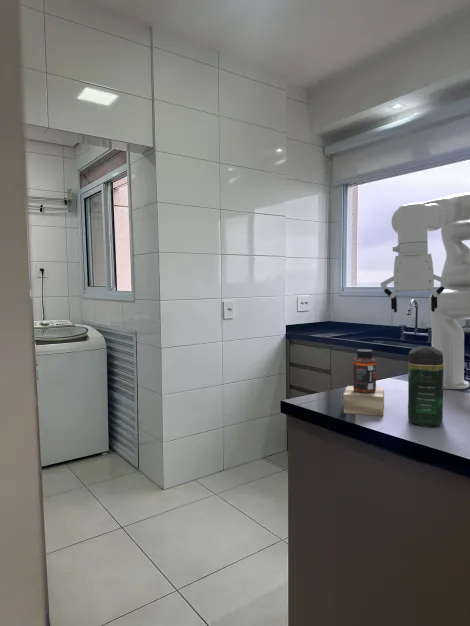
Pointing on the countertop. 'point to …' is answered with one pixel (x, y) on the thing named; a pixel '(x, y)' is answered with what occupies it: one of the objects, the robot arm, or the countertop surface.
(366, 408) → the beech block
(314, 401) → the countertop surface
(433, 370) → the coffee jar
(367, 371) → the supplement bottle
